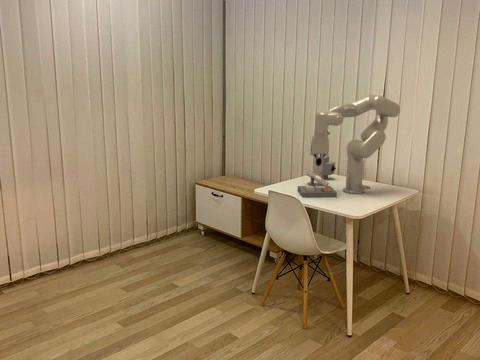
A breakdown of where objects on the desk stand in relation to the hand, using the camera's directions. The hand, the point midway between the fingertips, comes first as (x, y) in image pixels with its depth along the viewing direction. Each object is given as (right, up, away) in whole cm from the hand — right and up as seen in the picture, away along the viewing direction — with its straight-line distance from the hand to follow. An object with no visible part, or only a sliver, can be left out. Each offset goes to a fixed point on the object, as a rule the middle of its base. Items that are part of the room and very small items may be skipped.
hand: (318, 165), depth 276 cm
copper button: (+5, -17, +2) cm, 18 cm away
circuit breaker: (+12, -8, +46) cm, 48 cm away
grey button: (-5, -15, +1) cm, 16 cm away
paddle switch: (-2, -13, +9) cm, 16 cm away
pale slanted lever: (+4, -12, +28) cm, 31 cm away
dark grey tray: (0, -17, +5) cm, 18 cm away
